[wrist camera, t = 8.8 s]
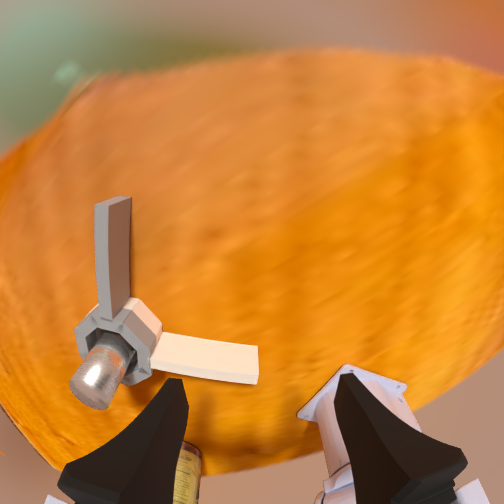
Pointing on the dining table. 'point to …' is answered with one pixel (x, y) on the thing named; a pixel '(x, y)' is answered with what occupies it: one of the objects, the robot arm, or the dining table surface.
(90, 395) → the hinge pin
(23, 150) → the dining table surface
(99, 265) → the hinge
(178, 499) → the sauce bottle
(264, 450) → the dining table surface
